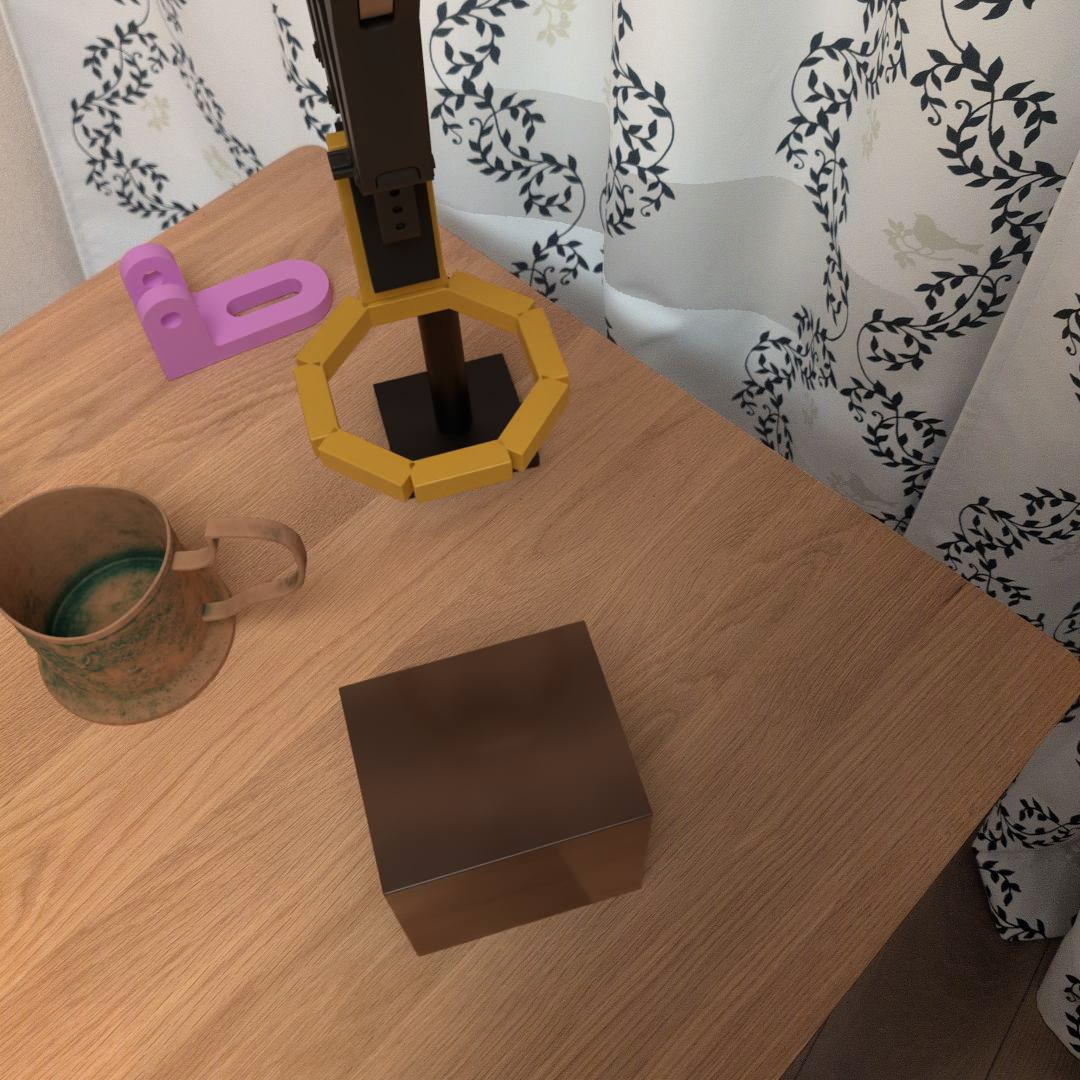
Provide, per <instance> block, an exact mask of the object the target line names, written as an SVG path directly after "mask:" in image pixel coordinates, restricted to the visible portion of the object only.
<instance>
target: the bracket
mask: <svg viewBox="0 0 1080 1080" xmlns="http://www.w3.org/2000/svg"><path fill="white" fill-rule="evenodd" d="M180 269H181V268H180V267H179V265H178V263H177V261H176V259H175V257H174V254H173V252H172V251H171V250H170V249H169V248H167V247H166V246H164V245H161V244H158V243H142V244H138V245H136V246H134V247H132V248H130V249H129V250H128V251H127V252H125V253H124V254H123V256H122V257H121V258H120V261H119V263H118V272H119V275H120V277H121V280H122V283H123V285H124V288H125V289H126V291H127V294H128V295H129V298H130V300H131V302H132V305H133V306H134V309H135V311H136V315H137V318H138V320H139V322H140V325H141V327H142V329H143V331H144V334H145V335H146V338H147V339H148V342H149V344H150V346H151V348H152V351H153V352H154V354H155V357H156V358H157V361H158V363H159V364H160V367H161V369H162V371H163V373H164V374H165V377H166V379H167V381H168V382H170V381H172V380H175V379H178V378H180V377H183V376H185V375H187V374H190V373H193V372H196V371H198V370H201V369H204V368H206V367H209V366H212V365H214V364H216V363H219V362H221V361H225V360H226V359H227V360H228V359H230V358H232V357H234V356H237V355H240V354H242V353H245V352H248V351H250V350H253V349H256V348H258V347H261V346H263V345H265V344H268V343H271V342H273V341H277V340H278V339H281V338H284V337H287V336H290V335H292V334H294V333H297V332H299V331H302V330H304V329H308V328H309V327H312V326H313V325H316V324H317V323H319V322H320V321H321V320H322V319H324V318H325V317H326V315H327V314H328V313H329V311H330V309H331V307H332V304H333V293H332V289H331V286H330V281H329V277H328V275H327V274H326V272H325V271H324V269H323V268H321V266H319V265H318V264H316V263H314V262H312V261H309V260H305V259H286V260H281V261H278V262H277V261H276V262H275V263H271V264H269V265H267V266H264V267H260V268H259V269H255V270H253V271H250V272H247V273H245V274H242V275H239V276H237V277H234V278H231V279H229V280H226V281H223V282H221V283H218V284H215V285H212V286H211V287H207V288H205V289H204V288H203V289H201V290H199V291H196V292H192V291H189V288H188V286H187V283H186V281H185V279H184V277H183V274H182V271H181V270H180ZM149 272H151V273H149ZM292 293H297V294H296V295H294V296H291V297H289V298H286V299H284V300H281V301H279V302H276V303H273V304H270V305H268V306H265V307H262V308H259V309H257V310H254V311H252V312H248V313H247V314H244V315H241V316H236V315H237V314H238V313H241V312H244V311H247V310H249V309H251V308H254V307H257V306H260V305H262V304H265V303H268V302H270V301H273V300H275V299H278V298H280V297H283V296H284V297H285V296H286V295H288V294H289V295H290V294H292Z"/></svg>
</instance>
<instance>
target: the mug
mask: <svg viewBox="0 0 1080 1080" xmlns="http://www.w3.org/2000/svg"><path fill="white" fill-rule="evenodd" d="M203 537H204V539H205V541H206V543H207V546H206V547H204V548H203V547H202V548H199V549H193V550H186V548H185V547H184V545H183V543H182V541H181V540H180V539H179V537H178V535H177V533H176V531H175V530H174V528H173V526H172V524H171V521H170V520H169V518H168V515H166V513H165V510H164V509H163V508H162V506H161V504H159V503H158V501H156V500H155V499H154V498H153V497H151V496H150V495H148V494H147V493H144V491H140V490H138V489H134V488H132V487H131V488H130V487H126V486H120V485H113V484H96V483H95V484H91V483H90V484H73V485H66V486H60V487H55V488H52V489H48V490H44V491H41V492H39V493H36V494H33V495H30V496H28V497H27V498H25V499H23V500H21V501H19V502H17V503H16V504H13V505H12V506H11V507H9V508H8V509H6V510H5V511H3V512H2V513H0V614H1V615H2V616H3V617H4V618H5V620H6V621H8V622H9V623H10V624H11V625H12V626H13V627H14V628H15V629H16V630H17V632H18V633H19V634H21V636H22V637H23V638H24V639H25V640H26V644H27V645H28V646H29V647H31V648H32V649H33V650H34V651H35V653H36V655H37V657H36V658H37V666H38V670H39V675H40V677H41V679H42V682H43V684H44V686H45V688H46V689H47V691H48V692H49V694H50V695H51V696H52V697H53V698H54V700H55V701H56V702H57V703H58V704H59V705H60V706H62V707H63V708H64V709H65V710H66V711H68V712H69V713H71V714H73V715H75V716H76V717H78V718H80V719H82V720H85V721H87V722H91V723H94V724H98V725H103V726H104V725H105V726H117V727H118V726H119V727H120V726H133V725H139V724H144V723H148V722H152V721H154V720H155V721H156V720H157V719H161V718H163V717H166V716H168V715H169V714H171V713H174V712H175V711H178V710H179V709H181V708H183V707H184V706H186V705H187V704H189V703H190V702H191V701H193V700H194V699H195V698H197V696H199V695H200V694H201V693H202V692H203V691H204V690H205V689H206V688H207V687H208V686H210V684H211V683H212V682H213V680H214V679H215V678H216V676H217V675H218V674H219V672H220V670H221V669H222V668H223V666H224V664H225V663H226V660H227V658H228V656H229V653H230V651H231V649H232V645H233V642H234V637H235V631H236V630H235V629H236V616H235V615H237V614H238V613H240V612H241V611H243V610H245V609H248V608H249V607H253V606H254V605H257V604H262V603H265V602H270V601H275V600H279V599H283V598H286V597H287V598H288V597H289V596H291V595H294V594H295V593H297V592H298V591H300V590H301V588H302V587H303V585H304V583H305V579H306V573H307V564H308V553H307V549H306V547H305V544H304V542H303V539H302V537H301V536H300V534H299V533H298V532H297V531H296V530H295V529H294V528H293V527H291V526H289V525H288V524H285V523H282V522H279V521H277V520H271V519H264V518H259V517H258V518H256V517H208V518H206V522H205V527H204V534H203ZM220 539H249V540H251V539H252V540H260V541H268V542H272V543H275V544H279V545H281V546H283V547H285V548H286V549H288V550H289V552H290V553H291V555H292V557H293V559H294V561H295V564H296V566H297V569H296V571H295V572H294V573H292V574H291V575H289V576H287V577H284V578H281V579H277V580H271V581H268V582H263V583H260V584H255V585H253V586H251V587H248V588H246V589H244V590H242V591H240V592H239V593H237V594H235V595H233V596H232V597H231V595H230V593H229V591H228V590H227V587H226V585H225V583H224V582H223V580H222V579H221V577H220V576H219V575H218V574H217V572H216V571H214V570H213V569H212V568H211V567H210V565H211V564H212V563H214V561H215V560H216V558H217V556H218V555H217V554H218V548H219V543H220Z"/></svg>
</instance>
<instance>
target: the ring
mask: <svg viewBox="0 0 1080 1080" xmlns="http://www.w3.org/2000/svg"><path fill="white" fill-rule="evenodd" d="M324 138H325V142H326V146H327V152H330V151H335V150H339V149H344V148H348V147H347V142H346V137H345V133H344V131H339V132H336V131H335V132H331V133H327V134H325V137H324ZM426 183H427V190H428V197H429V204H430V211H431V217H432V224H433V231H434V238H435V245H436V252H437V259H438V266H439V273H440V278H438V279H434V280H430V281H426V282H422V283H417V284H413V285H409V286H405V287H401V288H396V289H392V290H388V291H384V292H380V293H374V289H373V286H372V283H371V279H370V274H369V269H368V265H367V260H366V256H365V251H364V246H363V242H362V237H361V233H360V228H359V223H358V219H357V214H356V210H355V205H354V200H353V196H352V191H351V187H350V182H349V178H345V179H340V180H336V181H335V186H336V190H337V194H338V199H339V202H340V207H341V213H342V215H343V220H344V224H345V230H346V233H347V238H348V241H349V246H350V250H351V256H352V259H353V264H354V268H355V273H356V276H357V277H356V278H357V281H358V284H359V285H358V286H359V288H356V293H357V298H356V297H353V296H351V295H348V294H347V295H345V296H344V298H343V299H342V300H341V302H339V304H338V305H337V306H336V308H334V310H333V311H332V312H331V313H330V314H329V316H328V317H327V318H326V320H325V321H324V322H323V323H322V324H321V326H320V327H319V328H318V329H317V330H316V332H315V333H314V334H313V336H312V337H311V338H310V339H309V340H308V342H306V343H305V345H304V346H303V347H302V349H301V350H300V351H299V352H298V354H297V355H296V356H295V361H296V365H297V366H293V367H292V372H293V377H294V379H295V384H296V388H297V392H298V393H297V394H298V396H299V397H298V398H299V401H300V405H301V410H302V414H303V418H304V422H305V427H306V430H307V436H308V439H309V442H310V445H311V448H312V451H313V454H314V456H315V457H316V458H320V460H321V464H322V466H323V467H325V468H327V469H330V470H332V471H334V472H336V473H338V474H340V475H342V476H344V477H347V478H349V479H351V480H353V481H356V482H358V483H360V484H362V485H365V486H367V487H369V488H371V489H373V490H375V491H378V492H380V493H382V494H384V495H386V496H388V497H391V498H393V499H394V500H397V501H399V502H401V503H404V504H405V503H407V501H408V500H409V499H408V498H409V497H410V496H411V494H412V493H413V491H414V494H415V498H414V499H415V501H416V503H417V504H424V503H427V502H431V501H434V500H439V499H443V498H447V497H451V496H453V495H458V494H461V493H465V492H469V491H473V490H476V489H477V490H478V489H480V488H484V487H488V486H491V485H496V484H499V483H503V482H507V481H512V480H513V479H514V472H513V469H512V468H514V469H516V470H519V471H518V472H521V473H524V472H525V471H526V470H527V469H526V468H527V466H528V464H529V463H530V461H531V460H532V458H533V457H534V455H535V454H536V452H537V451H538V452H539V449H540V448H541V446H542V445H543V443H544V441H545V440H546V439H547V437H549V436H548V435H549V434H550V432H551V431H552V429H553V428H554V426H555V425H556V424H557V422H558V420H559V419H560V418H561V416H562V414H563V412H565V410H566V409H567V407H568V405H569V404H570V397H569V395H570V391H571V390H570V387H571V385H570V373H569V370H568V368H567V365H566V363H565V360H564V358H563V355H562V352H561V350H560V347H559V345H558V343H557V340H556V337H555V334H554V333H553V329H552V327H551V325H550V322H549V320H548V317H547V315H546V311H545V310H544V308H543V307H542V306H540V307H536V303H535V299H533V298H531V297H529V296H527V295H524V294H521V293H519V292H516V291H514V290H511V289H508V288H506V287H503V286H500V285H498V284H495V283H493V282H490V281H488V280H485V279H482V278H480V277H478V276H475V275H472V274H469V273H467V272H465V271H462V270H460V269H455V270H454V271H453V272H452V273H451V275H450V276H448V273H447V271H446V269H445V264H444V256H443V247H442V241H441V233H440V227H439V220H438V213H437V212H438V211H437V205H436V198H435V191H434V190H435V189H434V185H433V184H434V183H433V180H432V181H428V182H426ZM448 277H450V278H449V279H448ZM445 309H452V310H454V311H457V312H458V313H460V314H462V315H464V316H467V317H469V318H472V319H475V320H477V321H480V322H482V323H485V324H487V325H489V326H492V327H495V328H497V329H500V330H502V331H505V332H508V333H510V334H511V335H515V336H517V338H518V341H519V344H520V346H521V349H522V351H523V355H524V357H525V359H526V362H527V365H528V367H529V371H530V372H531V373H530V374H531V375H532V378H533V380H534V383H535V384H534V385H533V387H532V388H531V390H530V391H529V393H528V394H527V396H526V397H525V398H524V400H523V401H522V402H521V406H520V407H519V409H518V410H517V412H516V413H515V415H514V416H513V418H512V419H511V421H510V422H509V423H508V425H507V426H506V428H505V429H504V431H503V432H502V434H501V435H500V437H499V438H498V439H497V440H494V441H490V442H486V443H482V444H478V445H474V446H470V447H466V448H462V449H459V450H455V451H451V452H447V453H443V454H439V455H435V456H431V457H427V458H424V459H420V460H416V461H411V460H409V459H407V458H404V457H402V456H400V455H398V454H395V453H393V452H391V450H389V449H386V448H384V447H382V446H380V445H378V444H375V443H373V442H370V441H368V440H366V439H364V438H361V437H359V436H357V435H354V434H353V433H350V432H348V431H345V430H343V429H341V427H340V422H339V419H338V415H337V411H336V407H335V403H334V399H333V395H332V392H331V387H330V383H329V382H330V381H331V380H332V378H333V377H334V375H335V374H336V373H337V372H338V371H339V369H340V368H341V367H342V366H343V365H344V363H345V362H346V361H347V359H349V357H350V355H351V354H352V353H353V352H354V351H355V349H356V348H357V347H358V345H360V343H361V342H362V340H363V339H364V338H365V336H367V334H368V333H369V331H370V330H371V329H372V328H374V327H378V326H382V325H387V324H390V323H394V322H399V321H402V320H407V319H412V318H415V317H417V316H420V315H424V314H428V313H432V312H436V311H441V310H445Z"/></svg>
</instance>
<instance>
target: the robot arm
mask: <svg viewBox="0 0 1080 1080" xmlns="http://www.w3.org/2000/svg"><path fill="white" fill-rule="evenodd" d="M305 3H306V8H307V12H308V16H309V20H310V24H311V29H312V34H313V37H314V41H313V43H312V49H313V54H314V56H315V57H314V58H315V60H316V59H317V61H318V63H320V65H321V67H322V69H324V72H325V78H326V81H327V85H326V90H325V94H326V98H327V102H328V105H331V107H332V108H333V110H334V113H335V115H340V118H341V121H337V122H333V124H334V130H335V132H339V131H344V133H345V137H346V142H347V147H348V148H344V149H339V150H335V151H330V152H329V151H327V152H326V157H327V160H328V165H329V169H330V172H331V176H332V178H333V181H336V180H340V179H345V178H349V182H350V187H351V191H352V196H353V200H354V205H355V210H356V214H357V219H358V223H359V228H360V233H361V237H362V242H363V246H364V251H365V256H366V260H367V265H368V269H369V274H370V279H371V283H372V286H373V289H374V293H380V292H384V291H388V290H392V289H396V288H401V287H405V286H409V285H413V284H417V283H422V282H426V281H430V280H434V279H438V278H440V273H439V266H438V259H437V252H436V245H435V238H434V231H433V224H432V217H431V211H430V204H429V197H428V190H427V183H426V182H428V181H432V182H433V181H434V180H435V176H436V174H435V169H436V168H437V166H436V161H435V157H434V154H433V150H432V139H431V128H430V116H429V107H428V95H427V83H426V73H425V62H424V52H423V39H422V30H421V19H420V16H421V15H420V13H421V0H305Z"/></svg>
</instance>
